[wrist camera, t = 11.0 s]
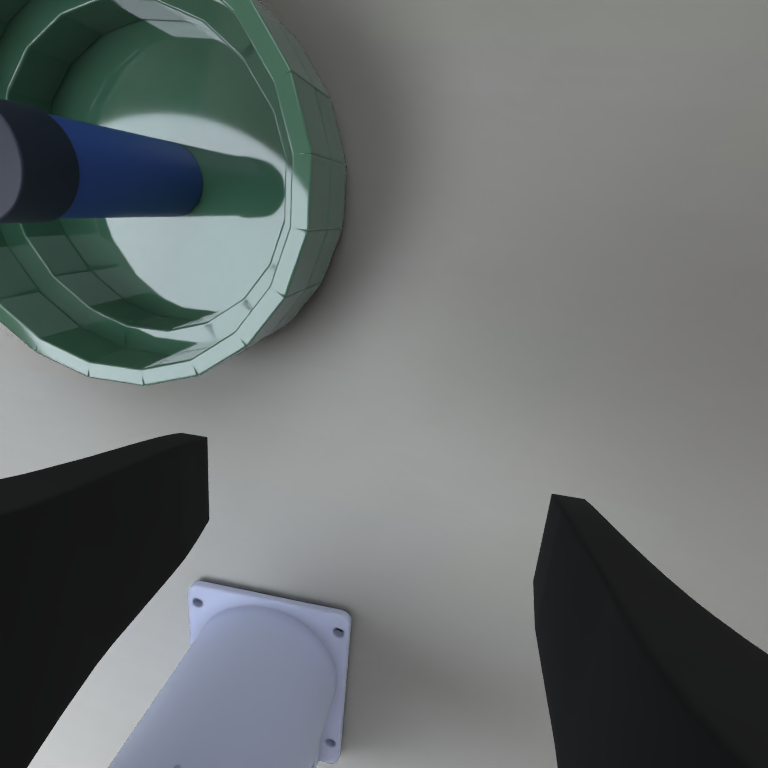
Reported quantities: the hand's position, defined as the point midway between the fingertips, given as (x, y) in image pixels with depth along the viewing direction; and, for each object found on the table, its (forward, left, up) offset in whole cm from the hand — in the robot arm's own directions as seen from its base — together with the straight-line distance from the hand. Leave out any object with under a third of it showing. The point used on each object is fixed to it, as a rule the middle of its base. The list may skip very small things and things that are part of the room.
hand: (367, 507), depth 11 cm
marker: (+6, +10, -10) cm, 15 cm away
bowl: (+6, +10, -10) cm, 16 cm away
